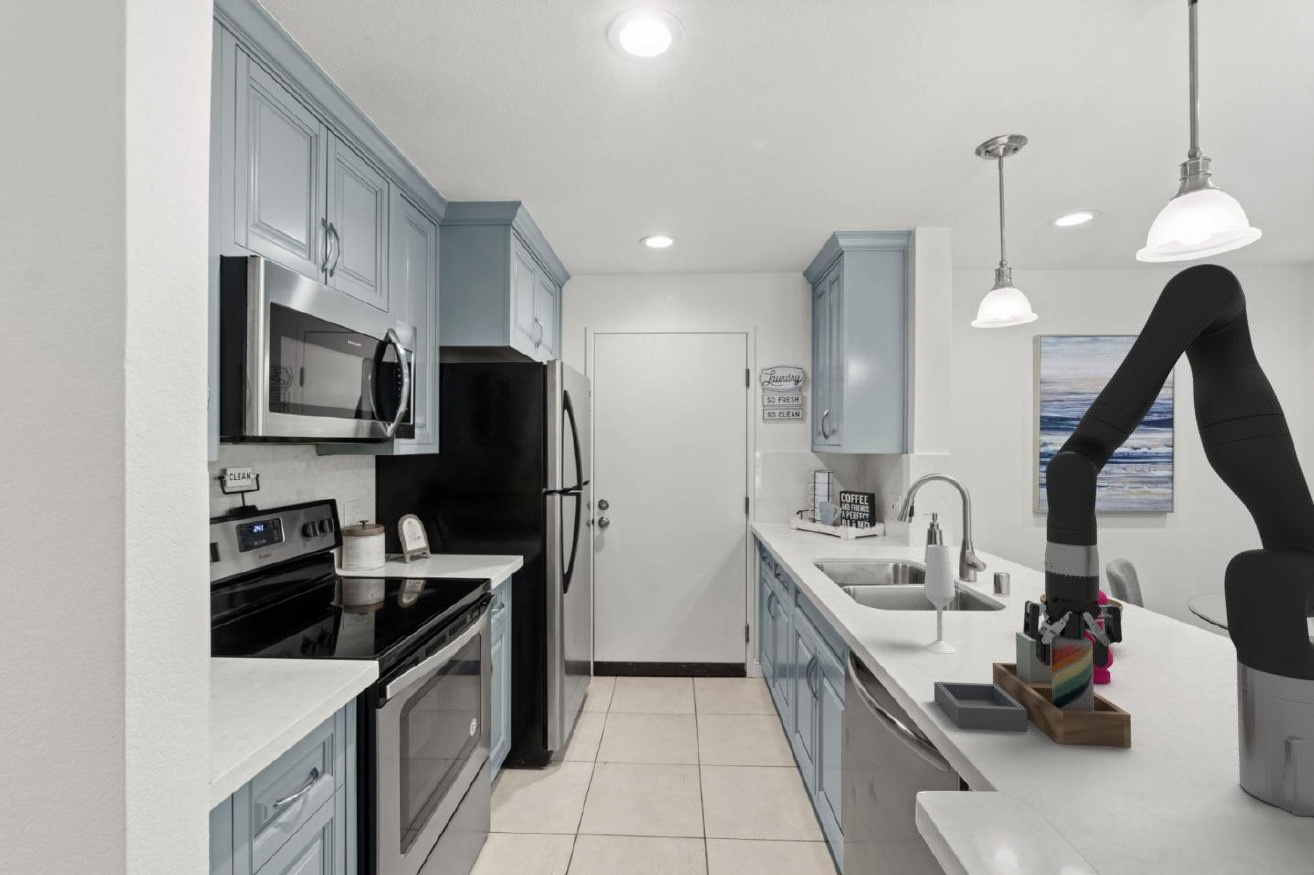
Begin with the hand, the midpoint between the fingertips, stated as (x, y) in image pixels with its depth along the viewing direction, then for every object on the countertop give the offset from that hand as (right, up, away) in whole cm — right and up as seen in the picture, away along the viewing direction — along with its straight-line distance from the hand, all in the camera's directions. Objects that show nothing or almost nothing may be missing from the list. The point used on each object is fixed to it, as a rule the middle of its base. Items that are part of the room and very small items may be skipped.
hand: (1071, 665), depth 100 cm
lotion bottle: (0, -11, -1) cm, 11 cm away
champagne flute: (-3, -11, +40) cm, 41 cm away
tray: (-13, -11, +5) cm, 18 cm away
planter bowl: (+31, -11, +41) cm, 53 cm away
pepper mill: (+19, -11, +21) cm, 31 cm away
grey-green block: (+1, -11, +10) cm, 15 cm away
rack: (0, -11, +5) cm, 12 cm away
